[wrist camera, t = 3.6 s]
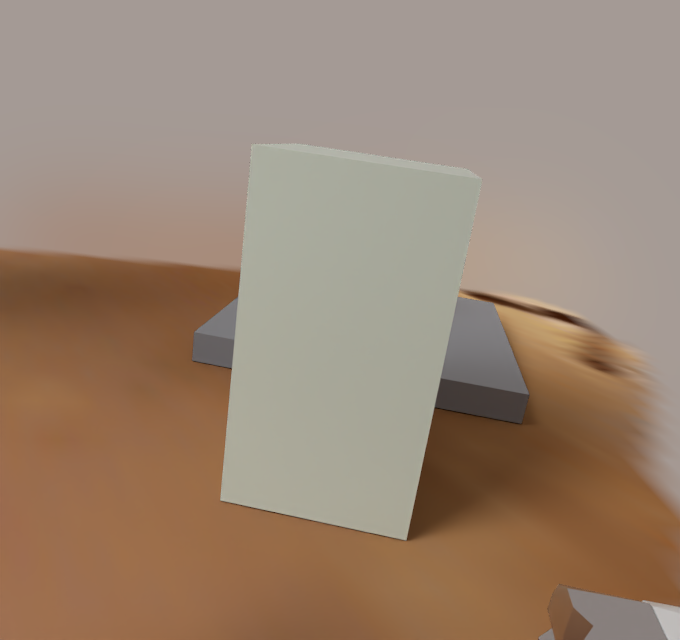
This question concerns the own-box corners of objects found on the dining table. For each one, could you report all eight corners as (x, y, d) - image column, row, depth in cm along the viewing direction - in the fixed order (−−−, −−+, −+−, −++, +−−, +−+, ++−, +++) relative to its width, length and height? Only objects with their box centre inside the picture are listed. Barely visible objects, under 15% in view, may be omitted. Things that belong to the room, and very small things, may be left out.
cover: (220, 500, 19) (251, 144, 15) (269, 416, 24) (300, 143, 21) (406, 540, 18) (482, 179, 15) (412, 445, 24) (467, 169, 20)
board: (192, 360, 29) (200, 240, 27) (274, 285, 44) (283, 205, 42) (521, 423, 27) (554, 300, 25) (488, 322, 42) (507, 241, 40)
